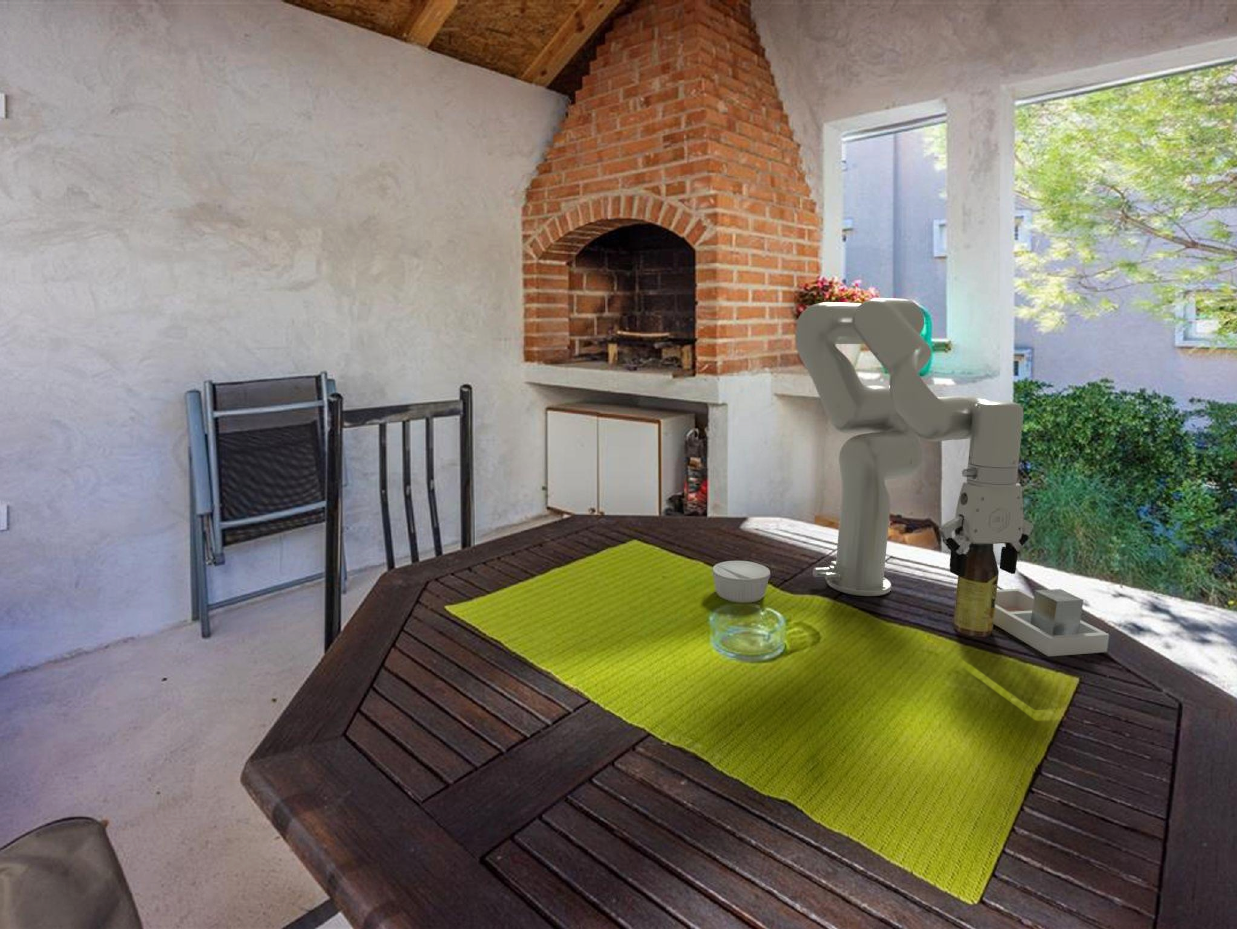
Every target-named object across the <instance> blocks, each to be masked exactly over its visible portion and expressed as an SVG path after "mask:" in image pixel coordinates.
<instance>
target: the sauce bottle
mask: <svg viewBox="0 0 1237 929" xmlns="http://www.w3.org/2000/svg"><path fill="white" fill-rule="evenodd" d="M968 548H969V549H968V550H967V551H966V552H965V554H966V556H967V557H966V568H965V576H964V577H959V576H957V583H956V584H957V585H956V592H955V604H954V616H953V624H954V626H953V628H954V630H956V631H957V632H959V633H961V634H963V635H967V636H971V637H977V638H985V637H990V636H991V634H992V630H993V629H994V628H993V627H994V624H993V621H994V612H995V604H996V595H997V590H998V586H999V585H998V583H999V574H1000V570H999V566H998V563H997V558H996V554H995V551H994V544H973V543H971V544H970V545H969V546H968Z"/></svg>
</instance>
